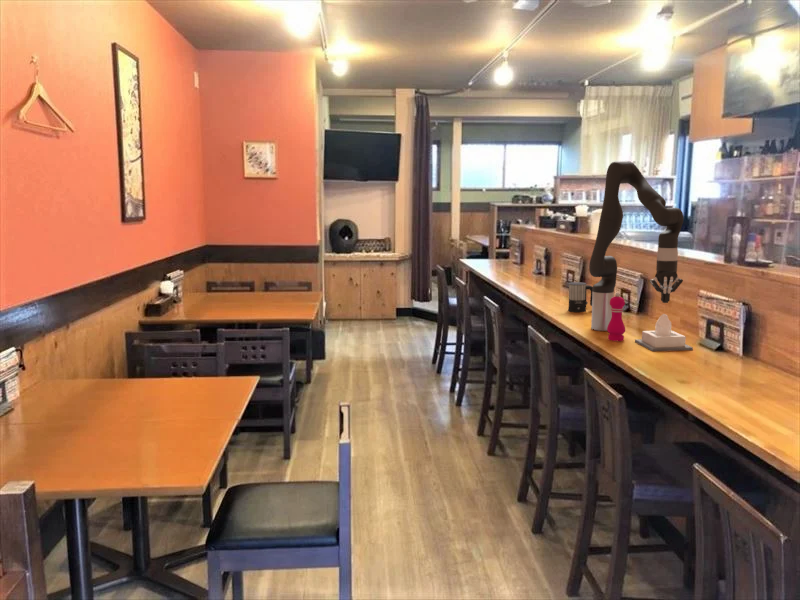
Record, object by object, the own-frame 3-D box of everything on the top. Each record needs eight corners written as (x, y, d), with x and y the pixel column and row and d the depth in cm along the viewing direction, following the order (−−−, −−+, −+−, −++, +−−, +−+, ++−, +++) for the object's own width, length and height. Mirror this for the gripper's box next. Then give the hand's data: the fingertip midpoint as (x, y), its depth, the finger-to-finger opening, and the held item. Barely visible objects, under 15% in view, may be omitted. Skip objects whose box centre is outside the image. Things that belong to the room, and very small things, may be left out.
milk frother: (572, 312, 321) (573, 284, 318) (558, 307, 336) (559, 280, 334) (597, 311, 324) (598, 283, 321) (582, 306, 339) (583, 279, 337)
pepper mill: (622, 337, 263) (624, 291, 260) (626, 341, 256) (628, 294, 253) (605, 337, 264) (606, 291, 260) (609, 341, 257) (610, 294, 253)
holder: (634, 341, 255) (635, 330, 254) (672, 340, 256) (673, 328, 255) (652, 351, 239) (653, 338, 239) (692, 349, 240) (693, 337, 239)
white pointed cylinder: (659, 315, 243) (653, 312, 248) (658, 345, 245) (652, 342, 250) (674, 315, 243) (668, 312, 248) (673, 344, 245) (666, 341, 250)
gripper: (678, 257, 246) (676, 300, 249) (646, 258, 245) (644, 301, 248) (688, 259, 239) (686, 303, 241) (655, 260, 238) (653, 304, 241)
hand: (665, 302), depth 245 cm, fingers closed
